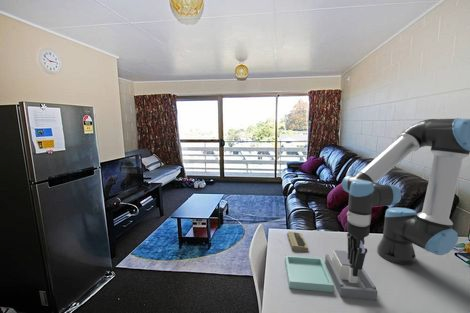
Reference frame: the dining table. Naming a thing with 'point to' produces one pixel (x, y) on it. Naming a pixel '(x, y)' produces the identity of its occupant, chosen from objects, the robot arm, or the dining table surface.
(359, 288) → the tray
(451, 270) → the dining table surface
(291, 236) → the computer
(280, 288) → the dining table surface
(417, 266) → the dining table surface
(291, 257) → the tray
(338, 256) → the grey bevelled prism
